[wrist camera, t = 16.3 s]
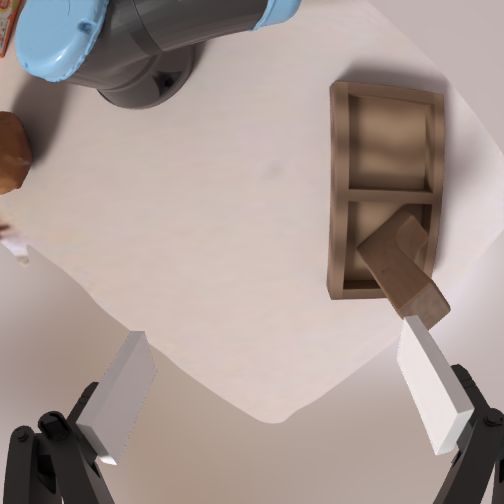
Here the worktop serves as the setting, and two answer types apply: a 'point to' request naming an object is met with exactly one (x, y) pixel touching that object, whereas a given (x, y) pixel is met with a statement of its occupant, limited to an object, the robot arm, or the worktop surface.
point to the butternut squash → (13, 153)
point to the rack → (381, 175)
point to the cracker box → (6, 21)
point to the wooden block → (403, 269)
